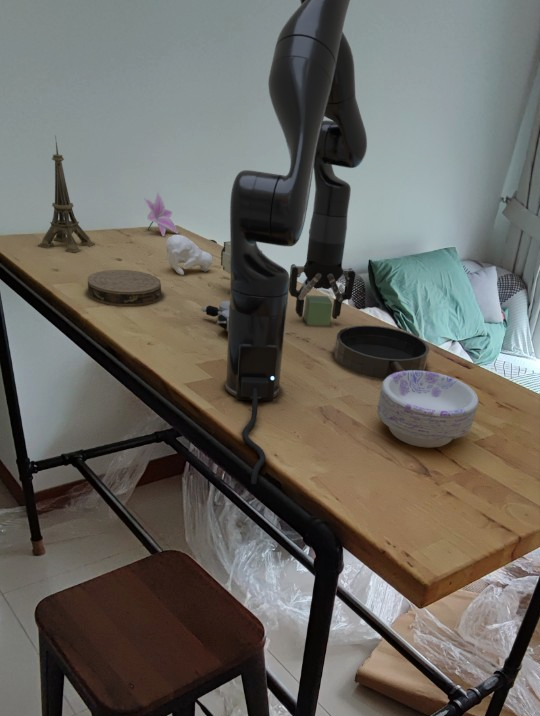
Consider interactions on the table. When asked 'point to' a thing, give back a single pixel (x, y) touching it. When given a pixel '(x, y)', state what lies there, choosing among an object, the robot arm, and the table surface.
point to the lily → (160, 215)
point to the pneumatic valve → (226, 257)
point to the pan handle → (396, 367)
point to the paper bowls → (426, 407)
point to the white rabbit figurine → (186, 254)
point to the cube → (317, 310)
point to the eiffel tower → (63, 214)
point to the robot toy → (219, 313)
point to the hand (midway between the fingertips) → (317, 316)
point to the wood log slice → (124, 287)
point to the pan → (379, 350)
